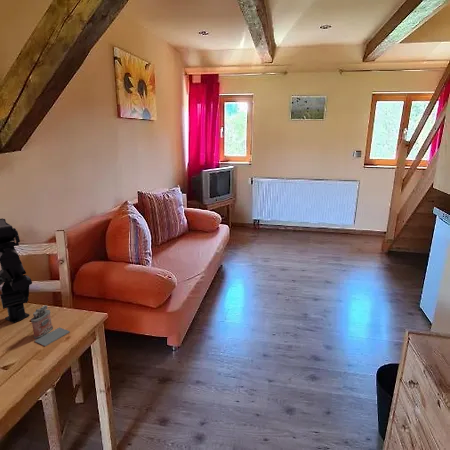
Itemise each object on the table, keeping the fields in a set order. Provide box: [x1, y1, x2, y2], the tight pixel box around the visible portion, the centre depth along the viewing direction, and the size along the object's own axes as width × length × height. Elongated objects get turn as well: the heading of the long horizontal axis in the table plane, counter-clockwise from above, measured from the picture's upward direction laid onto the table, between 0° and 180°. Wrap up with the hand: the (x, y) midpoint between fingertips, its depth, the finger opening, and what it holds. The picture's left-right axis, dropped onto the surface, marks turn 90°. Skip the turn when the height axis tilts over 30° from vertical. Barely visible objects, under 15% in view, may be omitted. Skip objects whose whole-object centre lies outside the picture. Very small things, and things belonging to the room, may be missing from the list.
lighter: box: [30, 304, 54, 340], centre depth 125 cm, size 8×3×10 cm, turn 166°
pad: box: [34, 326, 71, 347], centre depth 124 cm, size 6×10×1 cm, turn 151°
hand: (27, 297), depth 127 cm, fingers closed
